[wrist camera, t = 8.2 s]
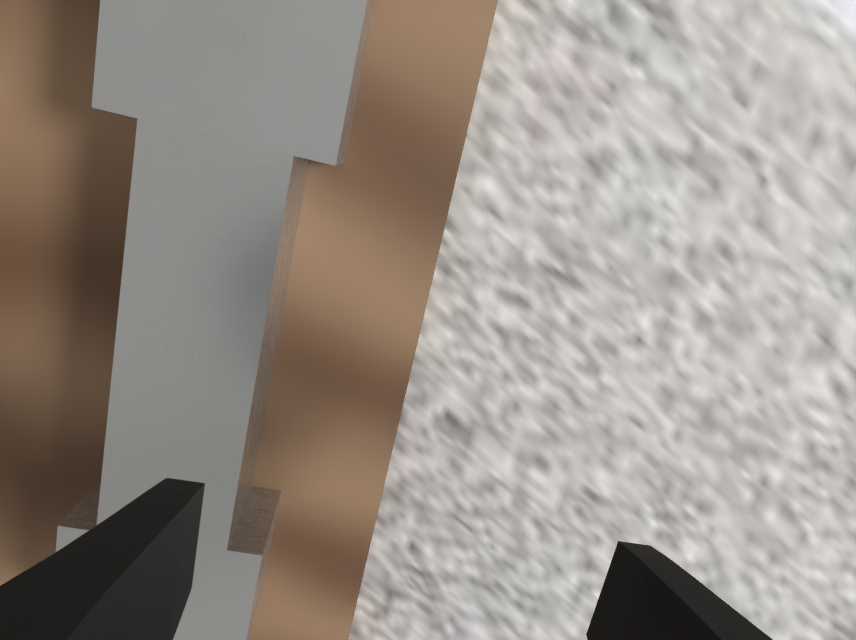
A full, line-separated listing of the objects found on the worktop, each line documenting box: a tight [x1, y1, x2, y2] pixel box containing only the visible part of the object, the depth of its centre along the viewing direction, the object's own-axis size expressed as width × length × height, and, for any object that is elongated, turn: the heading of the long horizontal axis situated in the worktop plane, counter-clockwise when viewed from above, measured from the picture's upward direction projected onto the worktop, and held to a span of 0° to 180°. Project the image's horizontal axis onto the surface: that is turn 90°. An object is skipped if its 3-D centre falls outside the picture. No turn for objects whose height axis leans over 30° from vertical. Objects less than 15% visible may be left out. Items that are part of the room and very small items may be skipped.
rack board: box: [0, 0, 498, 640], centre depth 15 cm, size 26×14×4 cm, turn 167°
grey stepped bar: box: [56, 0, 372, 640], centre depth 15 cm, size 17×5×3 cm, turn 167°
